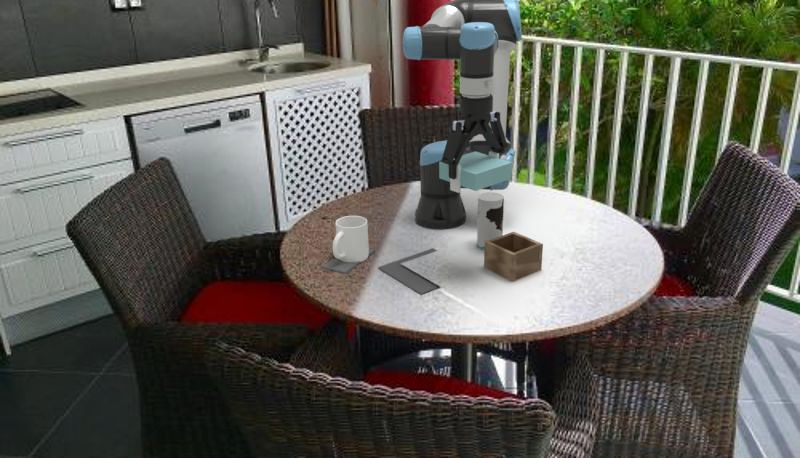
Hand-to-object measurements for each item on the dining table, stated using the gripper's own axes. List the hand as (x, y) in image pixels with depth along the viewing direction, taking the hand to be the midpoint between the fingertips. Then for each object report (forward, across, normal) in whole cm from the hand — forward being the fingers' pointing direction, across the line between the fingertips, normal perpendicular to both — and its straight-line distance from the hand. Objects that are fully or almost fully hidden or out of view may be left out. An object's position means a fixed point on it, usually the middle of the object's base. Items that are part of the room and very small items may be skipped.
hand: (474, 184), depth 162 cm
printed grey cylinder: (+23, +12, +6) cm, 27 cm away
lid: (0, 0, 0) cm, 0 cm away
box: (+23, +7, -7) cm, 25 cm away
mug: (+23, -20, +26) cm, 40 cm away
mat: (+23, -9, +8) cm, 26 cm away
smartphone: (+24, -20, +26) cm, 41 cm away
